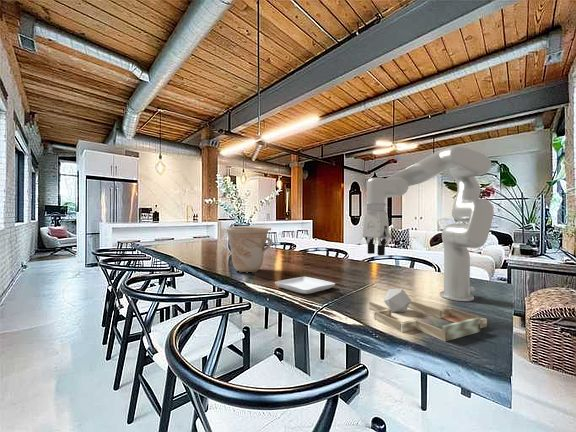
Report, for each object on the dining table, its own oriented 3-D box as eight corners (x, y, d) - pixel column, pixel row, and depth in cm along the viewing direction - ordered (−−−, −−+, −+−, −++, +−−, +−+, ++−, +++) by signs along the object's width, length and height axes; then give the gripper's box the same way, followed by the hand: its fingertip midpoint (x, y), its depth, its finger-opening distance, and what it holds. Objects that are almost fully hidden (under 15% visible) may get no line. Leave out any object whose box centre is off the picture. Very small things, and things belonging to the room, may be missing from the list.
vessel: (285, 268, 177) (280, 220, 174) (245, 281, 158) (239, 228, 156) (258, 262, 199) (253, 220, 196) (221, 273, 180) (215, 227, 178)
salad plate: (304, 281, 150) (304, 275, 150) (336, 289, 135) (336, 282, 135) (273, 288, 136) (273, 281, 136) (305, 298, 120) (305, 290, 120)
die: (407, 318, 98) (418, 294, 101) (384, 304, 100) (395, 281, 103) (398, 319, 106) (408, 296, 109) (377, 306, 107) (388, 284, 110)
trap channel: (410, 301, 116) (410, 291, 116) (491, 328, 88) (492, 315, 88) (355, 311, 103) (356, 299, 103) (430, 345, 76) (430, 330, 76)
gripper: (355, 209, 120) (354, 252, 120) (385, 208, 105) (384, 257, 105) (368, 209, 123) (368, 251, 123) (400, 208, 108) (399, 256, 108)
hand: (376, 253), depth 114 cm, fingers open, 4 cm apart
